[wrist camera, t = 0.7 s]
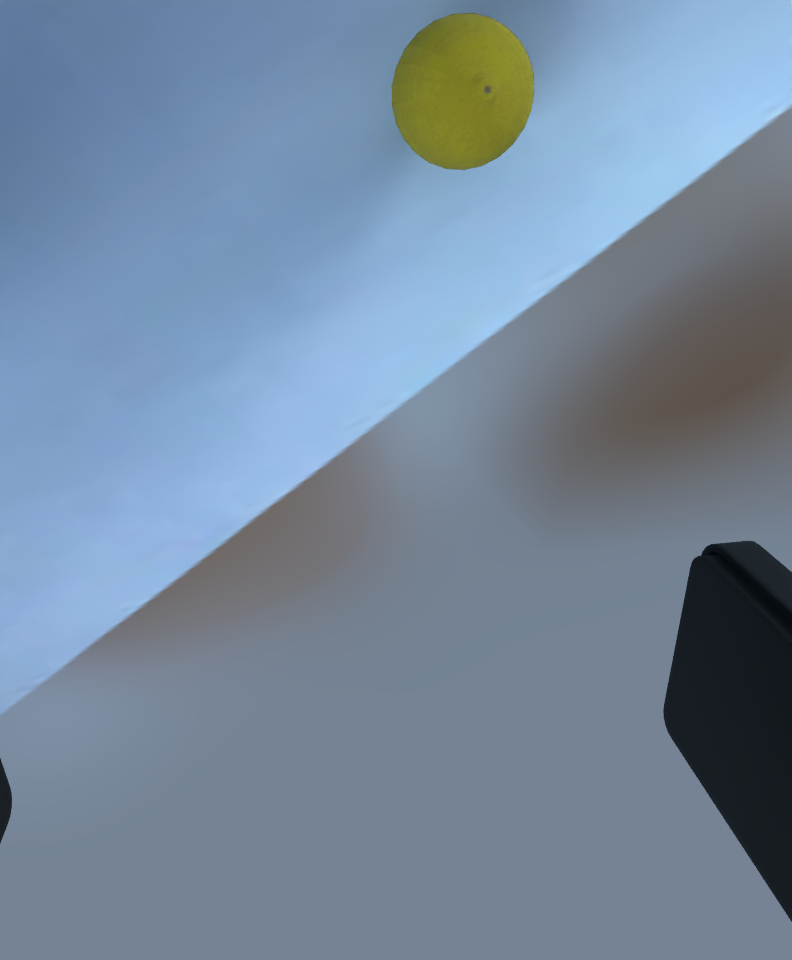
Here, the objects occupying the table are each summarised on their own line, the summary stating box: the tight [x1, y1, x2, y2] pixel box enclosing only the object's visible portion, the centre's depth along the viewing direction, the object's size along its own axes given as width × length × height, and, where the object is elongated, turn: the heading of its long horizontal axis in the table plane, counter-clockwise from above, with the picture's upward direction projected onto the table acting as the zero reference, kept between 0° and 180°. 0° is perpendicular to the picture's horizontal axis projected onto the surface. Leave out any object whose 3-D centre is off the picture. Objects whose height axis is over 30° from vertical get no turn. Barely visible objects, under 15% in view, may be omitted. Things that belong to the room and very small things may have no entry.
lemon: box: [392, 13, 534, 170], centre depth 29 cm, size 6×6×8 cm
